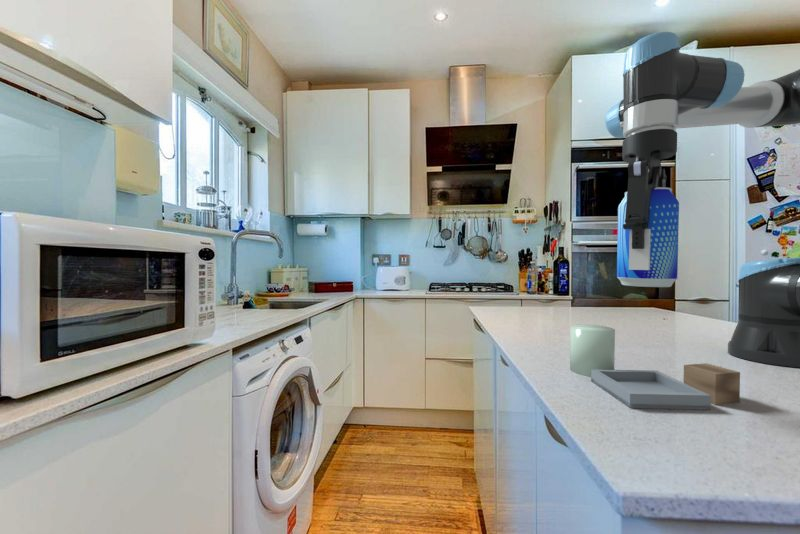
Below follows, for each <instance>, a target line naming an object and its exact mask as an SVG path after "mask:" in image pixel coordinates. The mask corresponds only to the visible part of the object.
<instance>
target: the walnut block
mask: <svg viewBox="0 0 800 534" xmlns="http://www.w3.org/2000/svg"><path fill="white" fill-rule="evenodd" d="M683 383H685V384H687V385H689V386H691V387H694V388H696V389H698V390H700V391H702V392H705V393H707V394H709V395H711V405H714V406H720V405H729V404H730V405H731V404H739V403H740V399H741V398H740V396H741V395H740V393H741V392H740V389H741V372H740V371H737V370H733V369H730V368H727V367H722V366H718V365H715V364H712V363H708V362H705V363H692V364H683Z"/></svg>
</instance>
